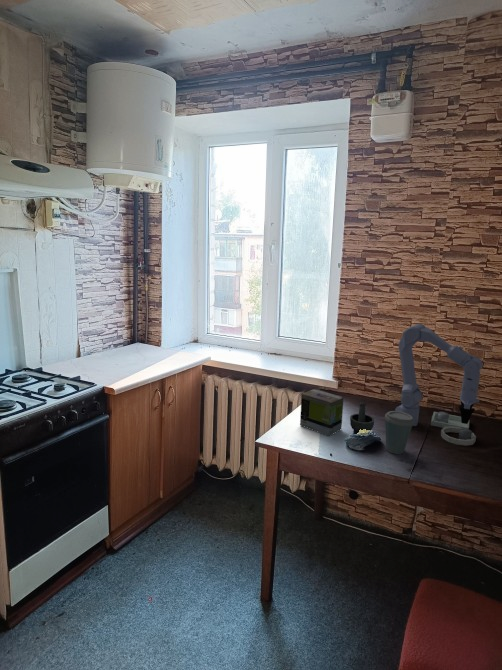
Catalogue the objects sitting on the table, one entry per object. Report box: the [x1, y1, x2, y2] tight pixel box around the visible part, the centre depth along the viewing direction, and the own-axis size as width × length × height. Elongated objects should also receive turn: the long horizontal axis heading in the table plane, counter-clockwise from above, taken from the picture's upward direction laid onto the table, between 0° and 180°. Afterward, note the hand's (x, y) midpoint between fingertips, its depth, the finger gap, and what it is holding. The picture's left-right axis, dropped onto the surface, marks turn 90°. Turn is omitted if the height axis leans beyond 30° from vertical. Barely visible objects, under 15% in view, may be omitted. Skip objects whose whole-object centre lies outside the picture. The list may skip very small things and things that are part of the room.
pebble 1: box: [437, 411, 450, 423], centre depth 194 cm, size 4×4×4 cm
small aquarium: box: [299, 388, 344, 437], centre depth 187 cm, size 15×10×15 cm
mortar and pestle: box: [349, 402, 375, 435], centre depth 183 cm, size 11×9×12 cm
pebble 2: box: [458, 428, 473, 440], centre depth 178 cm, size 4×4×4 cm
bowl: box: [440, 427, 477, 447], centre depth 180 cm, size 12×12×3 cm
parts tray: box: [430, 411, 470, 430], centre depth 193 cm, size 15×12×3 cm
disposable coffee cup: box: [384, 410, 414, 455], centre depth 168 cm, size 11×11×15 cm
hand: (464, 419), depth 178 cm, fingers open, 7 cm apart
